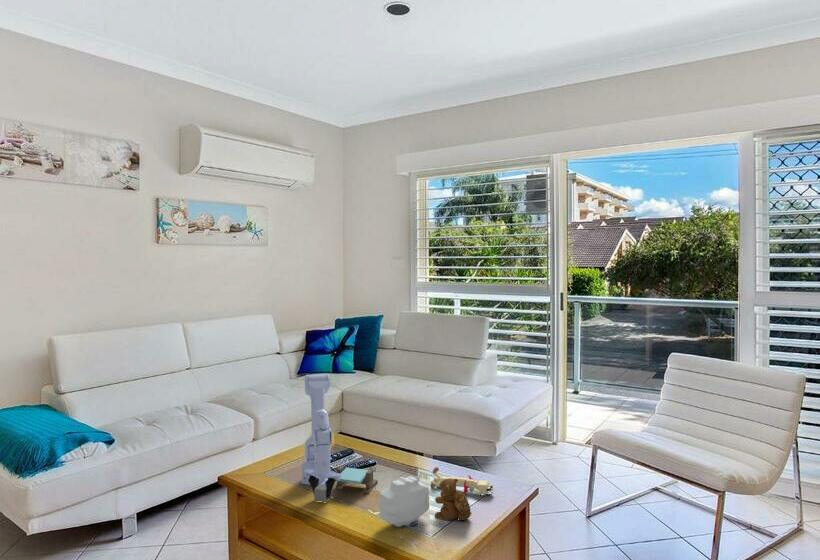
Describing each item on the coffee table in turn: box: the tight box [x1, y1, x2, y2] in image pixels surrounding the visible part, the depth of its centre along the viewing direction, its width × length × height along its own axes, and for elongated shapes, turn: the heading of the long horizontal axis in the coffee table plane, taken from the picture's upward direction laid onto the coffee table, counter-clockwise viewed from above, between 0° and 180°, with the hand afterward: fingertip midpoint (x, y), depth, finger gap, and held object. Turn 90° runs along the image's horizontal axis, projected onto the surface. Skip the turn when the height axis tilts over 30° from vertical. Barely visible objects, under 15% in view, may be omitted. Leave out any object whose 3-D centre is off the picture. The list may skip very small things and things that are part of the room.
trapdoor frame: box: [335, 465, 378, 494], centre depth 209 cm, size 14×10×8 cm
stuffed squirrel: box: [434, 479, 472, 521], centre depth 184 cm, size 10×14×13 cm
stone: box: [313, 484, 331, 503], centre depth 196 cm, size 4×4×5 cm
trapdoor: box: [335, 467, 369, 485], centre depth 204 cm, size 10×11×4 cm
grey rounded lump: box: [377, 473, 430, 528], centre depth 180 cm, size 11×18×16 cm, turn 127°
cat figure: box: [430, 466, 495, 496], centre depth 206 cm, size 10×9×25 cm
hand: (322, 496), depth 196 cm, fingers closed on stone, 4 cm apart
